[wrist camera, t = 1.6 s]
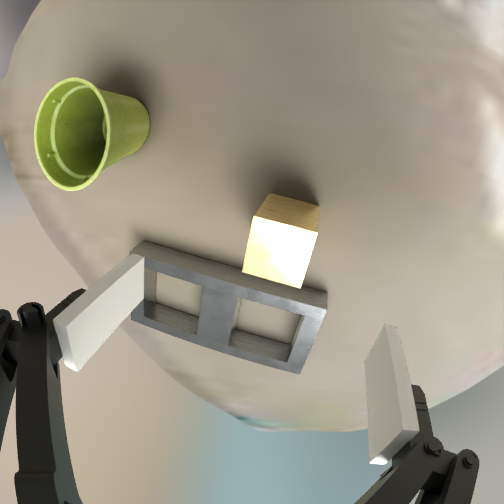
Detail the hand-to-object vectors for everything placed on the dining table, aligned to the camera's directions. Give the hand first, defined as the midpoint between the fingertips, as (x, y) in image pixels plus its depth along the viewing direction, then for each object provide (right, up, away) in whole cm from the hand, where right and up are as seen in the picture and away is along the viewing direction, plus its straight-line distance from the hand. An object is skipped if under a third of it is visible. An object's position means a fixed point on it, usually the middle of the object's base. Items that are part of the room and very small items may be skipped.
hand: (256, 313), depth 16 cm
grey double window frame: (-3, -2, +18) cm, 18 cm away
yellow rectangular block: (+3, +6, +13) cm, 14 cm away
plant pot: (-13, +16, +12) cm, 24 cm away
